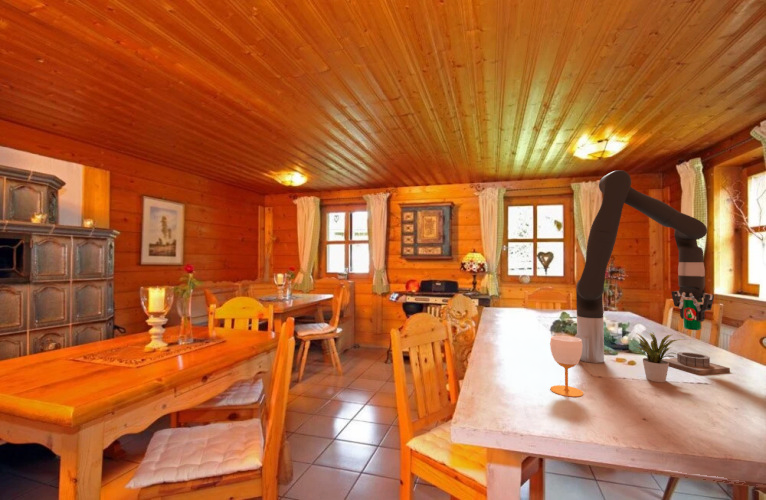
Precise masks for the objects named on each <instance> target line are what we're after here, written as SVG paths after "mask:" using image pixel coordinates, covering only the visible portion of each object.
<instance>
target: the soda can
mask: <svg viewBox="0 0 766 500" xmlns="http://www.w3.org/2000/svg"><path fill="white" fill-rule="evenodd" d="M697 302H701V300H700V301H697ZM682 320H683V328H684V329H685V330H690V331H701V329H702V322H698V321H697V308H696V306H695V305H694V304H693V300H692V299H691V297H685V298H684V299H683V319H682Z"/></svg>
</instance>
